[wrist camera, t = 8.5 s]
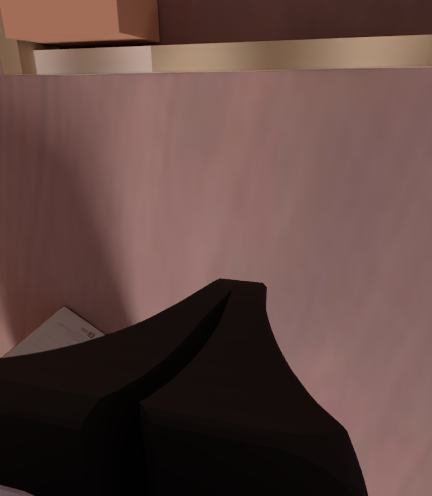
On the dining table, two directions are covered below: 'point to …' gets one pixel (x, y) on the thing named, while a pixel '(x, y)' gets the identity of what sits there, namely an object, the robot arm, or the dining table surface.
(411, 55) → the chute
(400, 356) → the dining table surface
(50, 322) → the small box
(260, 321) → the robot arm
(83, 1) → the block
